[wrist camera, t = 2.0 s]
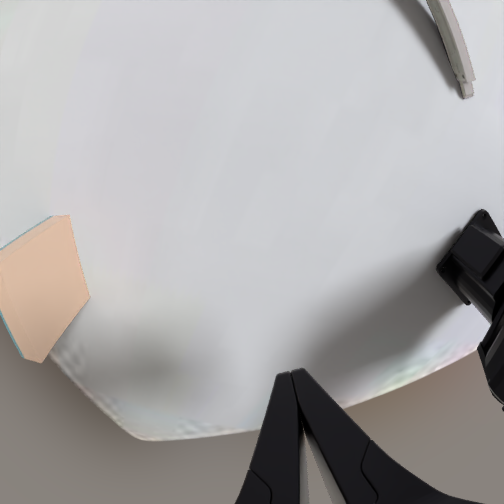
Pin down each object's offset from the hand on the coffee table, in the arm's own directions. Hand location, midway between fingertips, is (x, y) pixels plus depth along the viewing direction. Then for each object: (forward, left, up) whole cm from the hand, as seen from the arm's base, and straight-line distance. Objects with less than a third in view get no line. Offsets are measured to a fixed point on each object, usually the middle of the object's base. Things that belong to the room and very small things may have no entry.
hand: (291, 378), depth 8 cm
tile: (+12, +10, -11) cm, 19 cm away
